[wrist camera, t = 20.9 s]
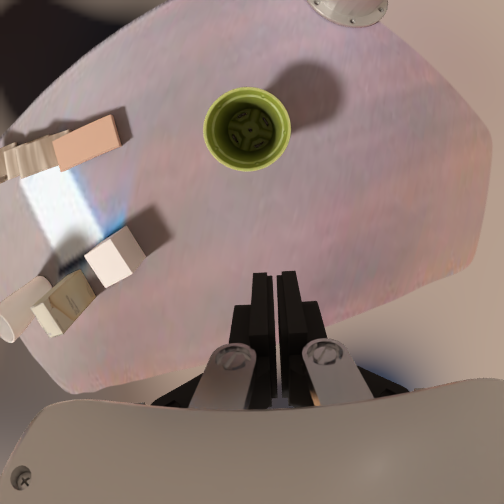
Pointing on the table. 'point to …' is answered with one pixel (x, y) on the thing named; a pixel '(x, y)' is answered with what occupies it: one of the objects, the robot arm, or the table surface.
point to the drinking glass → (21, 308)
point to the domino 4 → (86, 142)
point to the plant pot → (247, 129)
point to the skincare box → (63, 304)
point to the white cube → (115, 257)
